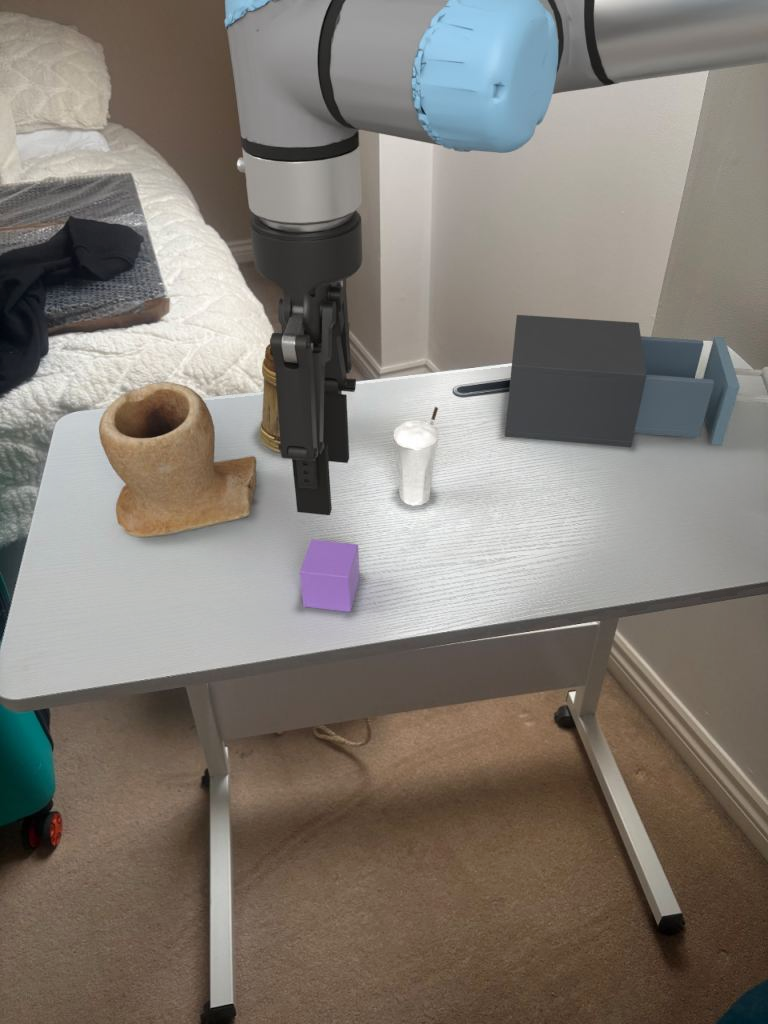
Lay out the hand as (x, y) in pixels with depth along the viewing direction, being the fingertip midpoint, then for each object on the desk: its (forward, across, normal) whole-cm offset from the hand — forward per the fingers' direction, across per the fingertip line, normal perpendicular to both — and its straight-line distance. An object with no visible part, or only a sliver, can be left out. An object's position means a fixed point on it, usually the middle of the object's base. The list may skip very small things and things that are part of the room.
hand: (324, 483), depth 70 cm
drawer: (+12, -35, +36) cm, 51 cm away
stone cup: (+13, -9, -17) cm, 23 cm away
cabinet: (+13, -35, +22) cm, 43 cm away
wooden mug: (+13, -24, -8) cm, 29 cm away
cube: (+13, 0, 0) cm, 13 cm away
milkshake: (+13, -16, +6) cm, 22 cm away
